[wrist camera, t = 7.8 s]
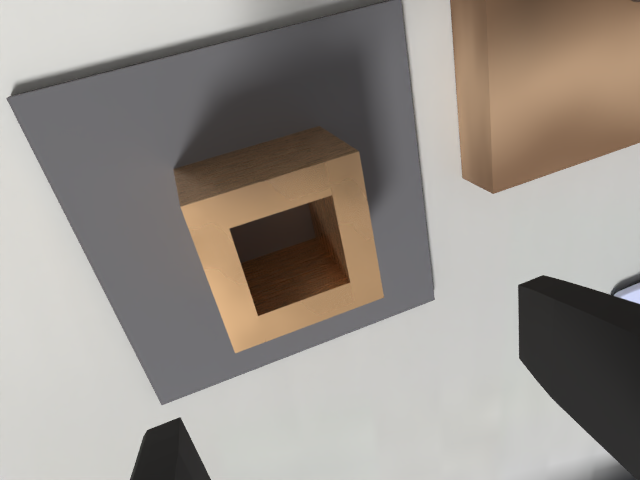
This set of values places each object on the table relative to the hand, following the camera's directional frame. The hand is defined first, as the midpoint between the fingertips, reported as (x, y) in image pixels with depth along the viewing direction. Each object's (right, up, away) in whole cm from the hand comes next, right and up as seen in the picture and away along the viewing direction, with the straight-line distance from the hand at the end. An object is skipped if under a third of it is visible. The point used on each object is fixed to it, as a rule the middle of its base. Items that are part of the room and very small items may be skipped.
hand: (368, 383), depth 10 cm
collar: (-3, +4, +7) cm, 9 cm away
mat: (-3, +4, +8) cm, 9 cm away
